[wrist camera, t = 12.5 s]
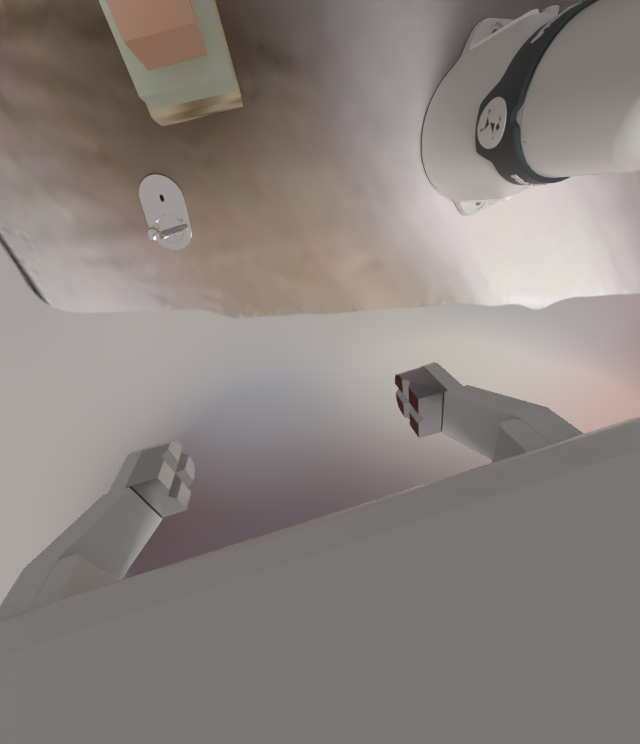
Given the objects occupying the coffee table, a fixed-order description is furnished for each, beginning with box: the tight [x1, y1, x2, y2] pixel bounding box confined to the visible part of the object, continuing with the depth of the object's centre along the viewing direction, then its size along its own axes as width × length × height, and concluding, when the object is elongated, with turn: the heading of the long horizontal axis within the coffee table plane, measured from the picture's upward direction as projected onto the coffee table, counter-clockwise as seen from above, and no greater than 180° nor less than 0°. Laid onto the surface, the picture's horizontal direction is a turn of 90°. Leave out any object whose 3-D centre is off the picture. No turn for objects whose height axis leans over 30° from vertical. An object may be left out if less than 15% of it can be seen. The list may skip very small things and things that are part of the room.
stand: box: [139, 174, 193, 250], centre depth 31 cm, size 8×5×8 cm
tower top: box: [99, 0, 235, 110], centre depth 23 cm, size 8×8×4 cm
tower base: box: [146, 0, 243, 127], centre depth 26 cm, size 9×9×4 cm
